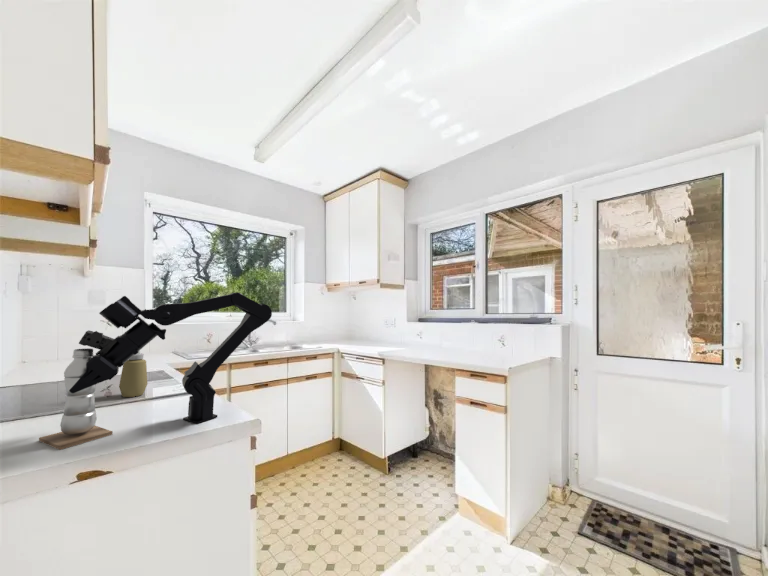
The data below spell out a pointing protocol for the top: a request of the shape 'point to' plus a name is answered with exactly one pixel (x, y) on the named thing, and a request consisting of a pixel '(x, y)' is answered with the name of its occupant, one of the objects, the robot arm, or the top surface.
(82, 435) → the walnut board
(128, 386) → the squeeze bottle
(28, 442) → the top surface
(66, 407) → the plastic bottle
